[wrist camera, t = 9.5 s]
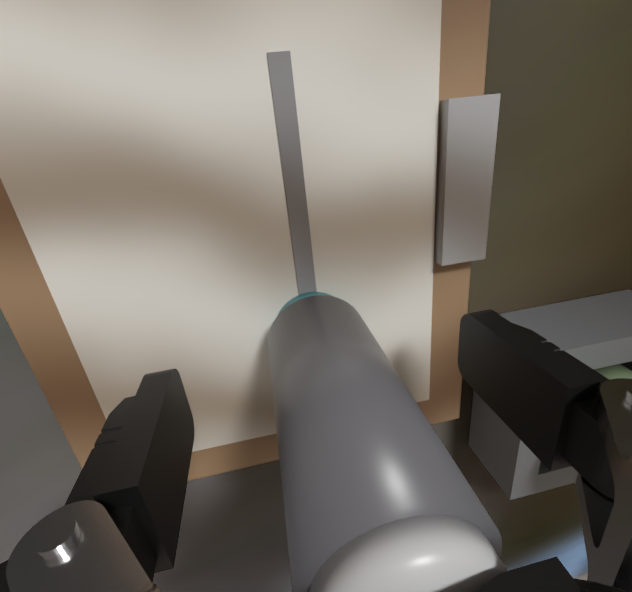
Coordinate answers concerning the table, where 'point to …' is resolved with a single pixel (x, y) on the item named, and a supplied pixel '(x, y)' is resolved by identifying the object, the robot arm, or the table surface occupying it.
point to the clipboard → (237, 195)
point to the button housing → (579, 341)
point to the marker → (366, 466)
